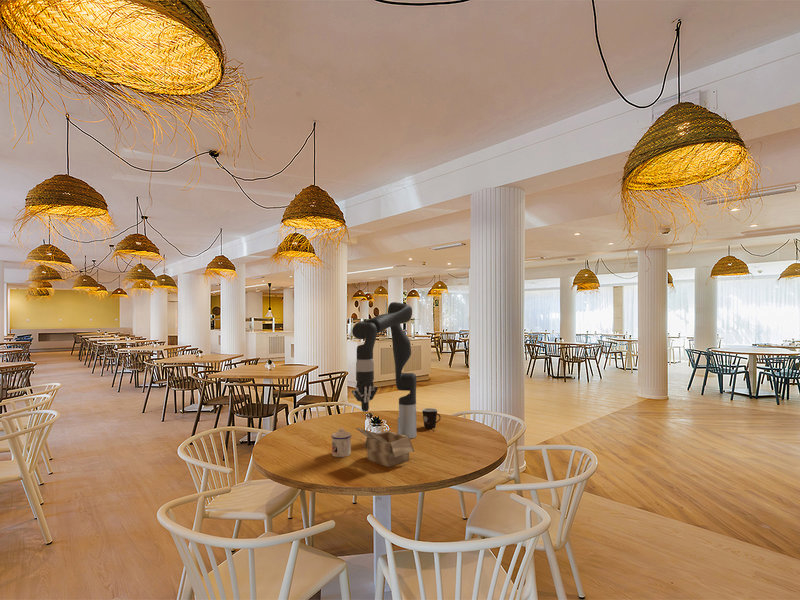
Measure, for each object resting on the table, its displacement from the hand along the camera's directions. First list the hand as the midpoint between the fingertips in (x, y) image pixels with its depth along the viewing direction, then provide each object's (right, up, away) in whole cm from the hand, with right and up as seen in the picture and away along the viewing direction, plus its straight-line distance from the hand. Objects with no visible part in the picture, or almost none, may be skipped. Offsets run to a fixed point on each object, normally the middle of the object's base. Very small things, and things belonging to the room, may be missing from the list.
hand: (365, 411), depth 176 cm
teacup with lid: (-12, -25, +15) cm, 31 cm away
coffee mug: (+32, -26, +62) cm, 74 cm away
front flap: (+5, -13, +4) cm, 15 cm away
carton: (+11, -24, +9) cm, 28 cm away
